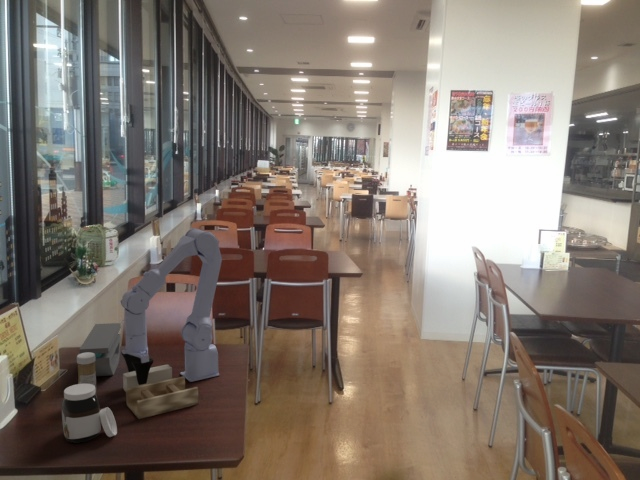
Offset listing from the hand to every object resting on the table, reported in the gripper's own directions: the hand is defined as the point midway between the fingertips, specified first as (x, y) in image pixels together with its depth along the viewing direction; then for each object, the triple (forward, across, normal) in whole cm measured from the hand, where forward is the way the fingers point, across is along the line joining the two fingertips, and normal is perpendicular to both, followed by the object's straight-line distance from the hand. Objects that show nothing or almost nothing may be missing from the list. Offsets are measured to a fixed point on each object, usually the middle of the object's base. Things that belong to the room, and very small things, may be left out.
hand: (138, 379), depth 166 cm
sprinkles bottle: (+3, +2, -14) cm, 15 cm away
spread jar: (+3, +21, -18) cm, 28 cm away
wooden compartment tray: (+3, +14, +2) cm, 14 cm away
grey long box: (+3, -21, -4) cm, 22 cm away
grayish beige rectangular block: (+3, 0, +3) cm, 4 cm away
